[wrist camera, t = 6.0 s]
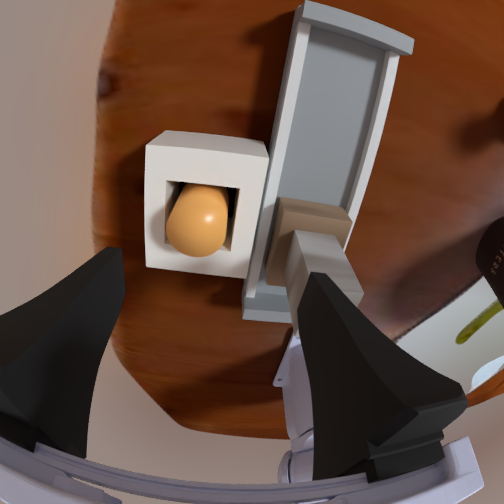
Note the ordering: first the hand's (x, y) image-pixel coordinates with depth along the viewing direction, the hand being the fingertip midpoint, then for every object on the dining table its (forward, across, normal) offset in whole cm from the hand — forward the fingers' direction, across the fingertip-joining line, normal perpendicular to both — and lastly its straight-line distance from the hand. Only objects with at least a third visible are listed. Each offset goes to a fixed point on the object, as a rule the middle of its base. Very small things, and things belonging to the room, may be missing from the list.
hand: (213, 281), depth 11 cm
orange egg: (+7, +1, 0) cm, 7 cm away
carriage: (+7, -5, +2) cm, 9 cm away
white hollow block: (+9, +1, 0) cm, 9 cm away
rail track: (+9, -5, -2) cm, 10 cm away
